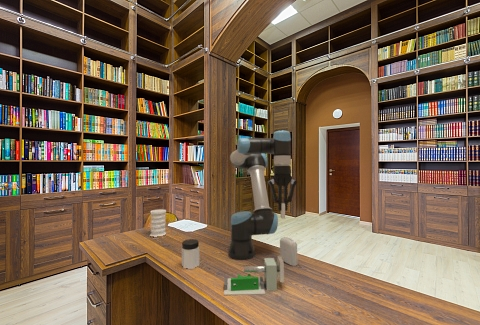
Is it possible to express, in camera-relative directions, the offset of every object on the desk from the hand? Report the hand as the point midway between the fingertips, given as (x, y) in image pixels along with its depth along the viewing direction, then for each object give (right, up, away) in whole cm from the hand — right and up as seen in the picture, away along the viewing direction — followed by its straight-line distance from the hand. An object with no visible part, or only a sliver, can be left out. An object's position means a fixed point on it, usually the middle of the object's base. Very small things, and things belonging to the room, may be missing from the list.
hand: (282, 217), depth 98 cm
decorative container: (-78, -28, +60) cm, 102 cm away
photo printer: (+6, -27, +15) cm, 31 cm away
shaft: (-10, -23, -8) cm, 26 cm away
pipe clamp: (-17, -26, -10) cm, 33 cm away
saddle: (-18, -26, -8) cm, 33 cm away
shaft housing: (-7, -26, -8) cm, 28 cm away
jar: (-44, -27, +11) cm, 53 cm away
